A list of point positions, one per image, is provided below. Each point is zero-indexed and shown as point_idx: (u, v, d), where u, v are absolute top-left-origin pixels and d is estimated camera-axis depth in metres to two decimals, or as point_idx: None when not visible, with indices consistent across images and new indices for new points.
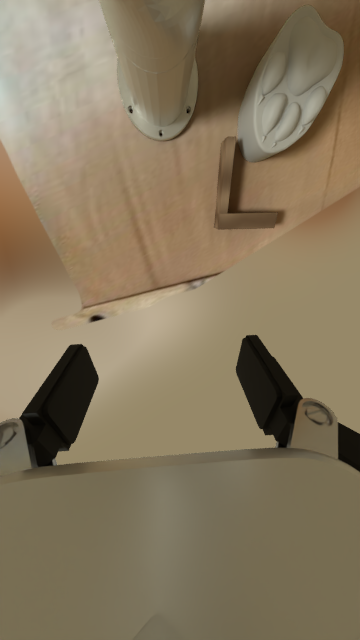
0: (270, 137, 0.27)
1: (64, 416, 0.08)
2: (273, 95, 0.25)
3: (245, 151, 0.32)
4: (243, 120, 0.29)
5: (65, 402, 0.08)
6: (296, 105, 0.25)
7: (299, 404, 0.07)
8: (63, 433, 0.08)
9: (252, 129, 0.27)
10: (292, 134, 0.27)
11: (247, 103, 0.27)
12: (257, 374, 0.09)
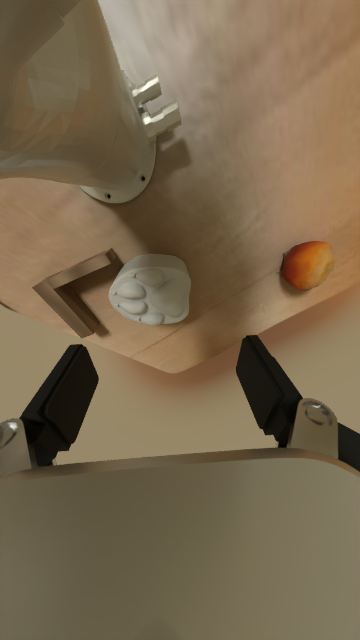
0: (118, 298, 0.27)
1: (64, 416, 0.08)
2: (140, 285, 0.26)
3: None
4: (129, 263, 0.29)
5: (65, 402, 0.08)
6: (142, 308, 0.27)
7: (299, 404, 0.07)
8: (63, 433, 0.08)
9: (116, 278, 0.26)
10: (132, 314, 0.29)
11: (136, 262, 0.28)
12: (257, 374, 0.09)
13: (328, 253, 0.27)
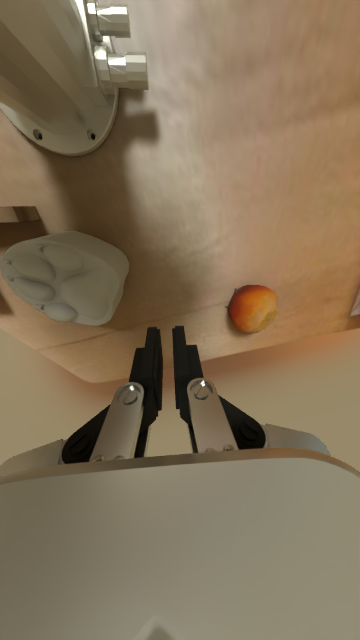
0: (13, 271, 0.20)
1: (159, 385, 0.09)
2: (48, 263, 0.20)
3: None
4: (50, 234, 0.22)
5: (158, 373, 0.09)
6: (44, 293, 0.21)
7: (190, 383, 0.08)
8: (158, 399, 0.09)
9: (16, 244, 0.19)
10: (31, 298, 0.22)
11: (57, 234, 0.21)
12: None
13: (272, 302, 0.26)
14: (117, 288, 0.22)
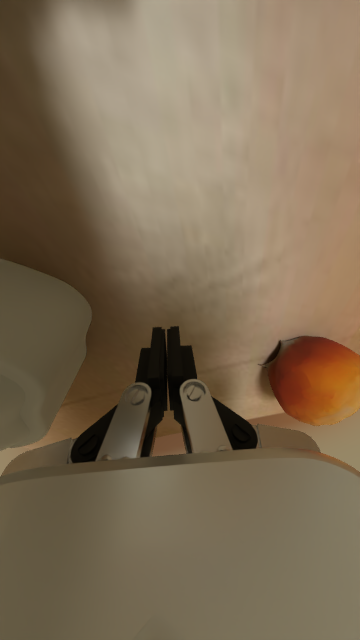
0: None
1: (165, 385, 0.09)
2: None
3: None
4: None
5: None
6: None
7: (183, 384, 0.08)
8: (164, 400, 0.09)
9: None
10: None
11: None
12: None
13: None
14: (42, 395, 0.09)
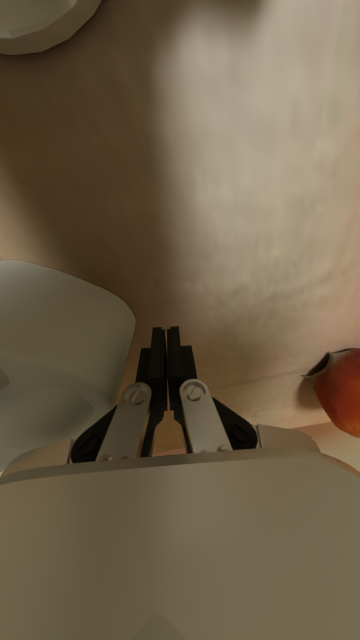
0: None
1: (165, 385, 0.09)
2: None
3: None
4: None
5: None
6: None
7: (183, 384, 0.08)
8: (164, 400, 0.09)
9: None
10: None
11: None
12: None
13: None
14: None
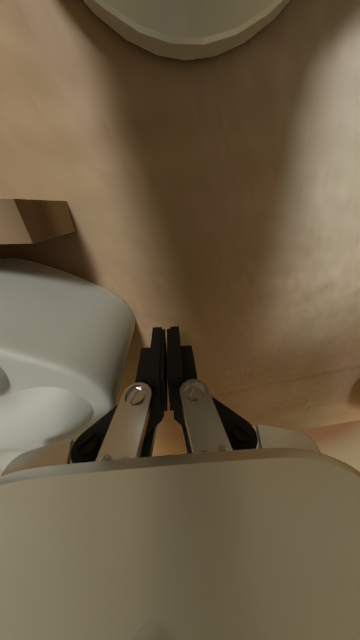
0: None
1: (165, 385, 0.09)
2: None
3: None
4: None
5: None
6: None
7: (183, 384, 0.08)
8: (164, 400, 0.09)
9: None
10: None
11: None
12: None
13: None
14: None
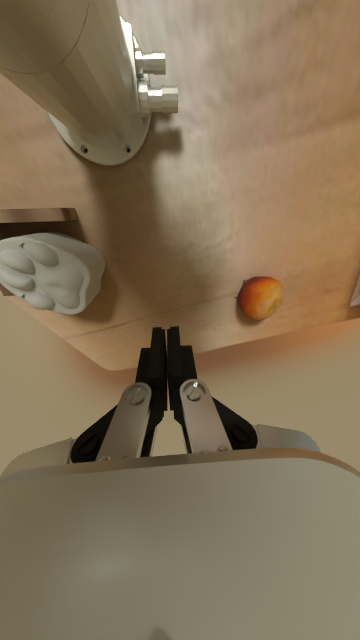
0: None
1: (165, 385, 0.09)
2: (28, 258, 0.23)
3: None
4: None
5: None
6: (24, 283, 0.24)
7: (183, 384, 0.08)
8: (164, 400, 0.09)
9: (1, 240, 0.23)
10: (14, 288, 0.25)
11: (38, 234, 0.25)
12: None
13: (278, 290, 0.29)
14: (89, 281, 0.26)
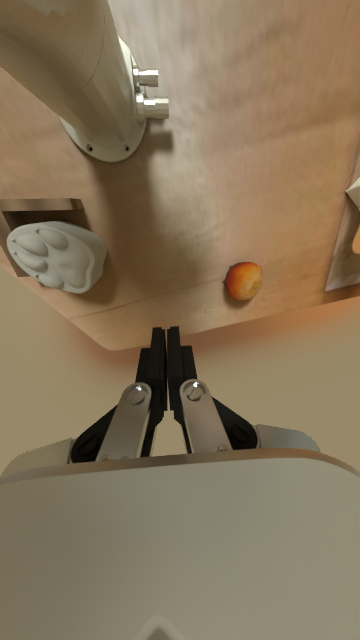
0: (17, 247, 0.28)
1: (165, 385, 0.09)
2: (42, 242, 0.27)
3: None
4: None
5: None
6: (39, 264, 0.28)
7: (183, 384, 0.08)
8: (164, 400, 0.09)
9: (19, 227, 0.27)
10: (29, 268, 0.29)
11: (50, 222, 0.29)
12: None
13: (257, 273, 0.34)
14: (93, 263, 0.30)
